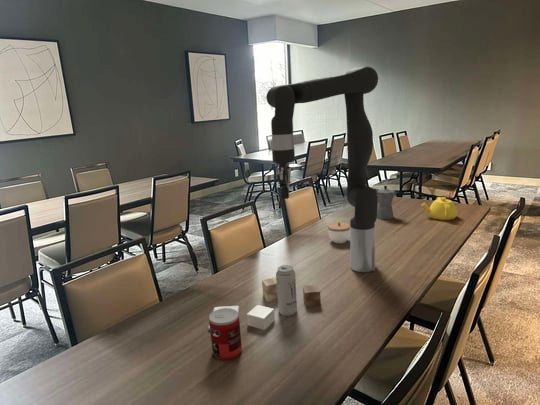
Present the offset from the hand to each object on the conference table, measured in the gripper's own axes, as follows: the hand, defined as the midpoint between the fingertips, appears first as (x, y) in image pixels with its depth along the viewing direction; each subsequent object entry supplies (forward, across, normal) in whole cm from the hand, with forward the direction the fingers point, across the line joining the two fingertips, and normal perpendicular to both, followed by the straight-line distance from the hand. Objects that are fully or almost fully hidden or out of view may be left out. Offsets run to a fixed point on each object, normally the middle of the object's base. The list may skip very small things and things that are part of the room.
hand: (285, 198), depth 131 cm
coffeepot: (+33, +89, -39) cm, 103 cm away
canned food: (+33, -40, +11) cm, 53 cm away
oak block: (+33, -9, +5) cm, 35 cm away
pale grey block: (+33, -25, +5) cm, 42 cm away
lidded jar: (+33, +48, -16) cm, 61 cm away
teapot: (+33, +88, -68) cm, 116 cm away
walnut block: (+33, -11, -9) cm, 36 cm away
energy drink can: (+33, -18, -2) cm, 38 cm away
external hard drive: (+34, -24, +17) cm, 45 cm away
